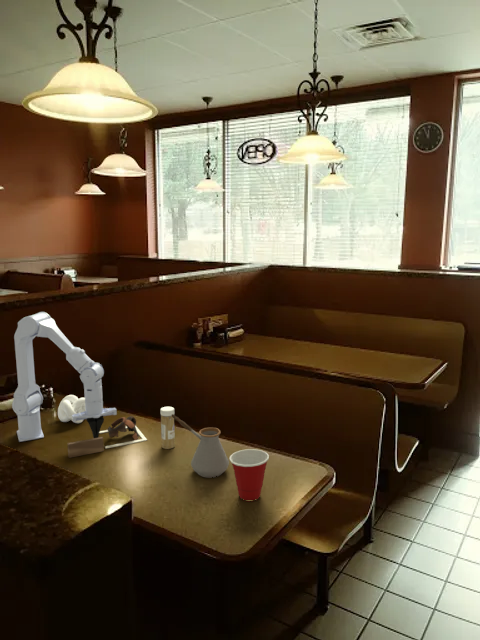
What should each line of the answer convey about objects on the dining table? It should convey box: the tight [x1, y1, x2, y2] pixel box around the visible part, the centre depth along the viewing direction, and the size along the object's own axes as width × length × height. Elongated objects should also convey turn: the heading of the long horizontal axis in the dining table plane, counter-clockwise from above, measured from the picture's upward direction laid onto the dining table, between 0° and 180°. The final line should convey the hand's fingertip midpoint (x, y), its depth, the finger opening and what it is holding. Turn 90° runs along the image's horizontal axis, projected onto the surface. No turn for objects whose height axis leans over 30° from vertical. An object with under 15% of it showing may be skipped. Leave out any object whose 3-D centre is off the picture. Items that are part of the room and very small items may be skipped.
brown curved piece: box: [107, 415, 140, 441], centre depth 181 cm, size 12×10×8 cm
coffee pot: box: [169, 414, 230, 478], centre depth 158 cm, size 21×12×15 cm, turn 55°
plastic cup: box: [228, 448, 270, 501], centre depth 142 cm, size 11×11×12 cm
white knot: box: [57, 394, 85, 424], centre depth 195 cm, size 11×12×9 cm
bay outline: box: [99, 425, 148, 449], centre depth 181 cm, size 14×14×1 cm
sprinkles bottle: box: [160, 406, 176, 450], centre depth 172 cm, size 5×5×13 cm
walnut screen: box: [67, 436, 105, 459], centre depth 168 cm, size 1×11×4 cm, turn 118°
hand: (95, 437), depth 177 cm, fingers closed
